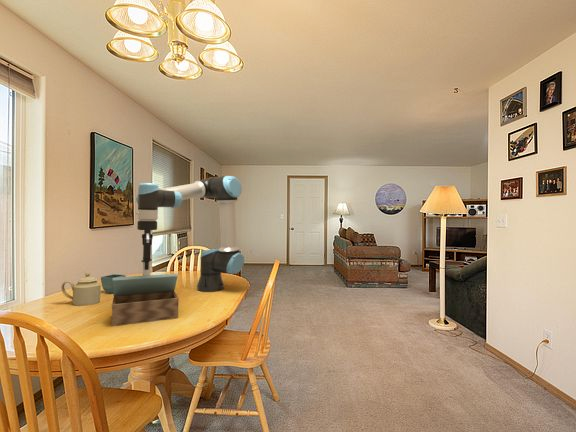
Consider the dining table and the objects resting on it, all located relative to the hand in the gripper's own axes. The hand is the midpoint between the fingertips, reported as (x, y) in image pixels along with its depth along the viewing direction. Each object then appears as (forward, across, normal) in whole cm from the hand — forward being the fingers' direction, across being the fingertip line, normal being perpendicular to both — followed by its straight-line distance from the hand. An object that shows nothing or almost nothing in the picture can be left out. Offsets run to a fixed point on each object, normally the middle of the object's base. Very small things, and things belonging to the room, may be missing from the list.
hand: (146, 277), depth 127 cm
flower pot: (+17, -52, -14) cm, 56 cm away
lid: (+4, -2, 0) cm, 5 cm away
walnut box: (+17, -1, 0) cm, 17 cm away
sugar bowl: (+17, -34, -26) cm, 46 cm away
